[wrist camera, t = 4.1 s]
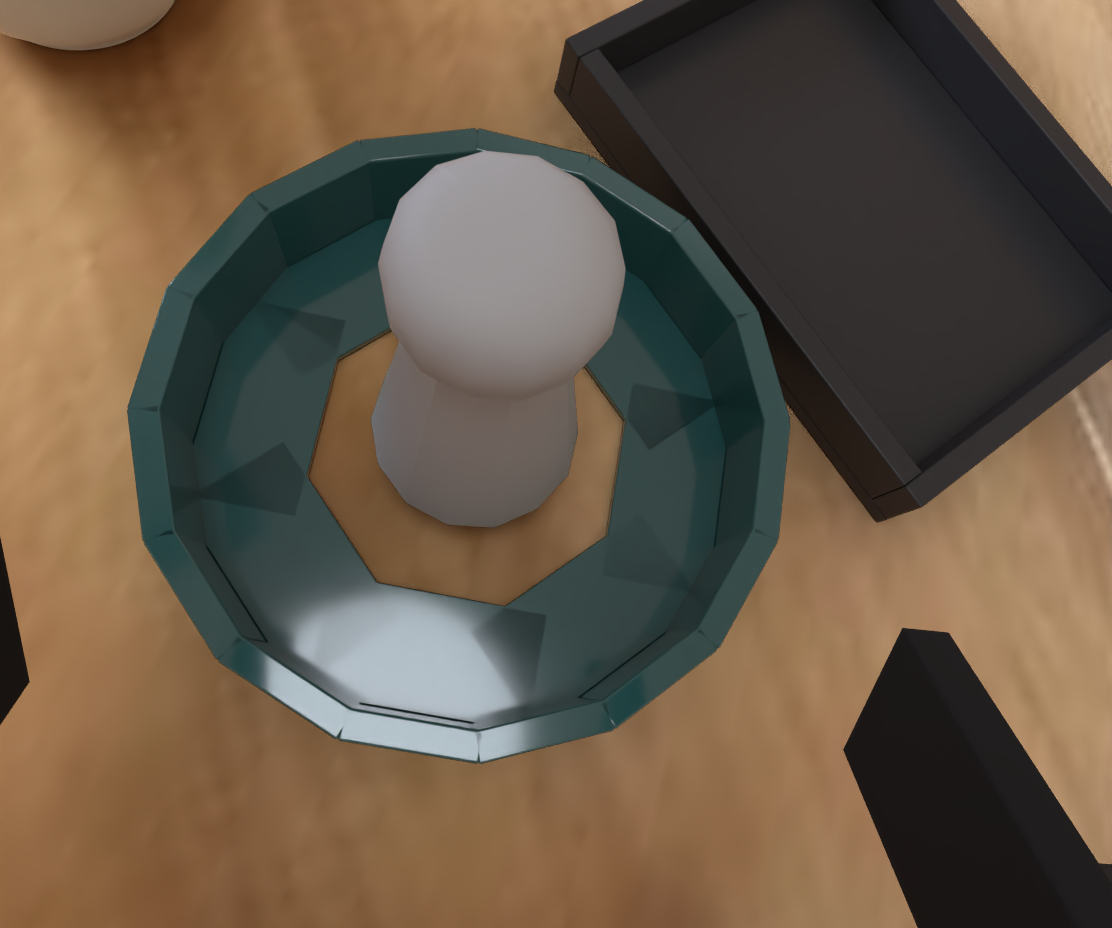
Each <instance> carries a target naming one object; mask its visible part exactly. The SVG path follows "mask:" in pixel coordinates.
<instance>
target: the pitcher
mask: <svg viewBox="0 0 1112 928" xmlns="http://www.w3.org/2000/svg"><path fill="white" fill-rule="evenodd" d="M174 1H175V0H0V33H1V34H4V35H7V36H9V37H13V38H17V39H21V40H26V41H30V42H32V43H35V44H38V45H42V46H46V47H50V48H56V49H63V50H92V49H100V48H105V47H110V46H113V45H117V44H120V43H123V42H126V41H128V40H130V39H133V38H135V37H137V36H138V35H140V34H142V33H144V32H145V31H147V30H148V29H150V28H151V27H152V26H154V25H155V24H156V23H157V22H158V21H159V20H160V19H161V18H162V17H164V16H165V14H166V13H167V12H168V10H169V9H170V8H171V7H172V5H173V3H174Z"/></svg>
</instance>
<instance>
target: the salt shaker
mask: <svg viewBox="0 0 1112 928" xmlns="http://www.w3.org/2000/svg"><path fill="white" fill-rule="evenodd" d="M378 267H379V272H380V278H381V283H382V289H383V294H384V300H385V306H386V311H387V316H388V321H389V325H390V329H391V331H392V332H393V334H394V335H395V336H396V338H397V339H398V340H399V344H398V346H397V349H396V352H395V354H394V357H393V360H392V362H391V365H390V367H389V369H388V371H387V374H386V376H385V378H384V381H383V384H382V387H381V390H380V393H379V396H378V399H377V402H376V405H375V408H374V411H373V414H372V417H371V423H372V429H373V436H374V442H375V448H376V454H377V460H378V464H379V466H380V467H381V469H382V470H383V471H384V473H385V474H386V476H387V477H388V478H389V480H390V481H391V483H392V484H393V485H394V487H395V488H396V490H397V491H398V492H399V494H400V495H401V497H402V498H403V499H404V501H405V502H406V503H407V504H409V505H411V506H413V507H415V508H416V509H418V510H420V511H422V512H424V513H426V514H428V515H430V516H432V517H433V518H435V519H437V520H439V521H441V522H443V523H445V524H447V525H459V526H475V527H491V528H494V527H497V526H499V525H502V524H504V523H506V522H508V521H511V520H513V519H515V518H517V517H520V516H522V515H524V514H527V513H529V512H531V511H533V510H536V509H538V508H539V507H540V506H541V504H542V503H543V502H544V501H545V500H546V499H547V498H548V497H549V496H550V495H551V493H552V492H553V491H554V490H555V489H556V488H557V487H558V486H559V485H560V484H561V482H562V481H563V480H564V479H565V478H566V477H567V476H568V473H569V469H570V465H571V460H572V456H573V452H574V447H575V443H576V439H577V434H578V428H577V414H576V401H575V388H574V376H575V375H576V374H577V373H578V372H579V371H580V370H581V369H582V368H583V367H584V366H585V365H586V364H587V363H588V362H589V360H590V359H591V358H592V357H593V356H594V355H595V354H596V353H597V352H598V351H599V350H600V349H601V348H602V347H603V345H604V344H605V343H606V341H607V340H608V339H609V337H610V336H611V335H612V332H613V328H614V324H615V319H616V315H617V311H618V307H619V303H620V299H621V294H622V290H623V286H624V278H625V269H626V268H625V264H624V259H623V255H622V250H621V246H620V241H619V237H618V232H617V228H616V223H615V220H614V219H613V218H612V217H611V215H610V214H609V213H608V212H607V211H606V209H605V208H604V207H603V206H602V204H601V203H600V202H599V201H598V199H597V198H596V197H595V196H594V194H593V193H592V192H591V191H590V190H589V188H588V187H587V186H586V185H585V183H584V182H583V181H581V180H579V179H578V178H576V177H574V176H572V175H570V174H569V173H567V172H565V171H563V170H561V169H560V168H558V167H556V166H554V165H553V164H551V163H549V162H547V161H545V160H544V159H542V158H540V157H538V156H532V155H522V154H512V153H502V152H492V151H483V152H480V153H476V154H473V155H469V156H466V157H462V158H459V159H456V160H452V161H449V162H445V163H442V164H438V165H436V166H435V167H433V168H432V169H431V170H430V171H429V172H428V173H427V174H426V175H425V176H424V177H423V178H422V179H421V180H420V181H419V182H418V183H416V184H415V185H414V186H413V187H412V188H411V189H410V190H409V191H408V192H407V193H406V194H405V195H404V196H403V197H402V198H401V199H400V200H399V202H398V205H397V208H396V211H395V213H394V216H393V219H392V222H391V224H390V227H389V230H388V233H387V235H386V238H385V241H384V244H383V247H382V250H381V254H380V258H379V262H378Z"/></svg>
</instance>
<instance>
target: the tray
mask: <svg viewBox="0 0 1112 928" xmlns="http://www.w3.org/2000/svg"><path fill="white" fill-rule="evenodd" d="M554 92H555V93H556V95H557V96H558V97H559V99H560V100H561V101H562V103H563V104H564V105H565V107H566V108H567V109H568V111H569V112H570V113H571V115H572V116H573V117H574V119H575V120H576V121H577V123H578V124H579V125H580V127H581V128H582V129H583V131H584V132H585V133H586V135H587V136H588V137H589V139H590V140H591V141H592V143H593V144H594V145H595V147H596V148H597V149H598V151H599V152H600V153H601V155H602V156H603V157H604V159H605V160H606V161H607V163H608V164H609V165H610V167H611V168H612V169H613V170H614V171H616V172H617V173H619V174H620V175H622V176H623V177H625V178H626V179H628V180H629V181H631V182H632V183H634V184H636V185H637V186H639V187H640V188H642V189H643V190H645V191H646V192H648V193H649V194H651V195H652V196H654V197H656V198H657V199H659V200H660V201H662V202H663V203H665V204H666V205H668V206H669V207H671V208H672V209H674V210H676V211H677V212H679V213H680V214H682V215H683V216H685V217H686V218H687V219H689V220H690V221H691V222H692V224H693V225H694V226H695V228H696V229H697V230H698V232H699V233H700V234H701V236H702V237H703V238H704V240H705V241H706V242H707V244H708V245H709V246H710V247H711V249H712V250H713V251H714V253H715V254H716V255H717V257H718V258H719V259H720V261H721V262H722V263H723V265H724V266H725V267H726V269H727V270H728V271H729V273H730V274H731V275H732V277H733V278H734V279H735V281H736V282H737V283H738V284H739V286H740V287H741V288H742V290H743V291H744V292H745V294H746V295H747V296H748V298H749V299H750V300H751V302H752V303H753V304H754V306H755V307H756V308H757V311H758V312H759V315H760V318H761V322H762V325H763V329H764V332H765V335H766V339H767V342H768V346H769V349H770V353H771V356H772V359H773V363H774V366H775V370H776V373H777V377H778V380H779V383H780V387H781V390H782V394H783V397H784V399H785V400H786V402H787V403H788V404H789V406H790V407H791V408H792V410H793V411H794V412H795V414H796V415H797V416H798V418H799V419H800V420H801V422H802V423H803V424H804V426H805V427H806V428H807V430H808V431H809V432H810V434H811V435H812V436H813V438H814V439H815V440H816V442H817V443H818V444H819V446H820V447H821V448H822V450H823V451H824V452H825V454H826V455H827V456H828V458H829V459H830V460H831V462H832V463H833V464H834V466H835V467H836V468H837V470H838V471H839V472H840V474H841V475H842V476H843V478H844V479H845V480H846V482H847V483H848V484H849V486H850V487H851V488H852V490H853V491H854V492H855V494H856V495H857V496H858V498H859V499H860V500H861V502H862V503H863V504H864V506H865V507H866V508H867V510H868V511H869V512H870V514H871V515H872V516H873V518H874V519H875V520H876V522H881V521H884V520H887V519H889V518H892V517H895V516H898V515H901V514H904V513H907V512H910V511H913V510H915V509H918V508H921V507H923V506H924V505H925V504H927V503H928V502H929V501H931V500H932V499H933V498H934V497H936V496H937V495H938V494H940V493H941V492H942V491H943V490H945V489H946V488H947V487H949V486H950V485H951V484H952V483H954V482H955V481H956V480H958V479H959V478H960V477H961V476H963V475H964V474H965V473H966V472H968V471H969V470H970V469H972V468H973V467H974V466H975V465H977V464H978V463H979V462H981V461H982V460H983V459H984V458H986V457H987V456H988V455H990V454H991V453H992V452H993V451H995V450H996V449H997V448H999V447H1000V446H1001V445H1002V444H1004V443H1005V442H1006V441H1008V440H1009V439H1010V438H1011V437H1013V436H1014V435H1015V434H1016V433H1018V432H1019V431H1020V430H1022V429H1023V428H1024V427H1025V426H1027V425H1028V424H1029V423H1031V422H1032V421H1033V420H1034V419H1036V418H1037V417H1038V416H1040V415H1041V414H1042V413H1043V412H1045V411H1046V410H1047V409H1049V408H1050V407H1051V406H1052V405H1054V404H1055V403H1056V402H1058V401H1059V400H1060V399H1061V398H1063V397H1064V396H1065V395H1067V394H1068V393H1069V392H1070V391H1072V390H1073V389H1074V388H1075V387H1077V386H1078V385H1079V384H1081V383H1082V382H1083V381H1084V380H1086V379H1087V378H1088V377H1090V376H1091V375H1092V374H1093V373H1095V372H1096V371H1097V370H1099V369H1100V368H1101V367H1102V366H1104V365H1105V364H1106V363H1108V362H1109V361H1110V360H1111V359H1112V186H1111V185H1110V184H1109V182H1108V181H1107V180H1106V179H1105V178H1104V176H1103V175H1102V174H1101V173H1100V172H1099V170H1098V169H1097V168H1096V167H1095V166H1094V164H1093V163H1092V162H1091V161H1090V160H1089V158H1088V157H1087V156H1086V155H1085V154H1084V152H1083V151H1082V150H1081V149H1080V148H1079V147H1078V145H1077V144H1076V143H1075V142H1074V141H1073V139H1072V138H1071V137H1070V136H1069V135H1068V133H1067V132H1066V131H1065V130H1064V129H1063V127H1062V126H1061V125H1060V124H1059V123H1058V121H1057V120H1056V119H1055V118H1054V117H1053V115H1052V114H1051V113H1050V112H1049V111H1048V110H1047V108H1046V107H1045V106H1044V105H1043V104H1042V102H1041V101H1040V100H1039V99H1038V98H1037V96H1036V95H1035V94H1034V93H1033V92H1032V90H1031V89H1030V88H1029V87H1028V86H1027V84H1026V83H1025V82H1024V81H1023V80H1022V78H1021V77H1020V76H1019V75H1018V74H1017V72H1016V71H1015V70H1014V69H1013V68H1012V67H1011V65H1010V64H1009V63H1008V62H1007V61H1006V59H1005V58H1004V57H1003V56H1002V55H1001V53H1000V52H999V51H998V50H997V49H996V47H995V46H994V45H993V44H992V43H991V41H990V40H989V39H988V38H987V37H986V35H985V34H984V33H983V32H982V31H981V30H980V28H979V27H978V26H977V25H976V24H975V22H974V21H973V20H972V19H971V18H970V16H969V15H968V14H967V13H966V12H965V10H964V9H963V8H962V7H961V6H960V4H959V3H958V2H957V1H956V0H643V1H641V2H639V3H637V4H635V5H633V6H631V7H629V8H627V9H625V10H623V11H621V12H619V13H617V14H615V15H613V16H611V17H609V18H607V19H605V20H603V21H601V22H599V23H597V24H595V25H593V26H591V27H589V28H587V29H585V30H583V31H581V32H579V33H577V34H575V35H573V36H571V37H569V38H567V39H566V41H565V45H564V50H563V54H562V59H561V64H560V68H559V73H558V78H557V81H556V85H555V89H554Z"/></svg>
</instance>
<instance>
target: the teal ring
mask: <svg viewBox="0 0 1112 928" xmlns="http://www.w3.org/2000/svg"><path fill="white" fill-rule="evenodd" d="M483 151H492V152H502V153H512V154H522V155H532V156H538V157H540V158H542V159H544V160H545V161H547V162H549V163H551V164H553V165H554V166H556V167H558V168H560V169H561V170H563V171H565V172H567V173H569V174H570V175H572V176H574V177H576V178H578V179H579V180H581V181H583V182H584V183H585V185H586V186H587V187H588V188H589V190H590V191H591V192H592V193H593V194H594V196H595V197H596V198H597V199H598V201H599V202H600V203H601V204H602V206H603V207H604V208H605V209H606V211H607V212H608V213H609V214H610V215H611V217H612V218H613V219H614V220H615V223H616V228H617V232H618V237H619V241H620V246H621V250H622V255H623V259H624V264H625V268H626V269H625V278H624V286H623V290H622V294H621V299H620V303H619V307H618V311H617V315H616V319H615V324H614V328H613V332H612V335H611V336H610V337H609V339H608V340H607V341H606V343H605V344H604V345H603V347H602V348H601V349H600V350H599V351H598V352H597V353H596V354H595V355H594V356H593V357H592V358H591V359H590V360H589V362H588V363H587V364H586V365H585V366H584V367H585V368H586V369H587V371H588V372H589V374H590V375H591V376H592V378H593V379H594V381H595V382H596V383H597V385H598V386H599V388H600V389H601V390H602V392H603V393H604V395H605V396H606V397H607V399H608V400H609V401H610V403H611V404H612V406H613V407H614V408H615V410H616V411H617V413H618V414H619V415H620V417H621V418H622V420H623V421H624V423H623V430H622V436H621V443H620V449H619V455H618V462H617V468H616V474H615V481H614V487H613V494H612V500H611V506H610V513H609V519H608V526H607V532H606V536H605V537H604V538H603V539H601V540H600V541H598V542H597V543H595V544H594V545H593V546H591V547H590V548H588V549H587V550H585V551H584V552H582V553H581V554H580V555H578V556H577V557H575V558H574V559H572V560H571V561H570V562H568V563H567V564H565V565H564V566H562V567H561V568H559V569H558V570H557V571H555V572H554V573H552V574H551V575H549V576H548V577H547V578H545V579H544V580H542V581H541V582H539V583H538V584H537V585H535V586H534V587H532V588H531V589H529V590H528V591H526V592H525V593H524V594H522V595H521V596H519V597H518V598H516V599H515V600H514V601H512V602H511V603H509V604H508V605H506V606H501V605H496V604H490V603H485V602H480V601H474V600H469V599H464V598H458V597H453V596H448V595H442V594H437V593H431V592H426V591H421V590H415V589H410V588H405V587H399V586H394V585H389V584H383V583H378V582H376V580H375V578H374V577H373V575H372V574H371V572H370V571H369V569H368V568H367V566H366V565H365V563H364V562H363V560H362V559H361V557H360V556H359V554H358V553H357V551H356V550H355V548H354V547H353V545H352V543H351V542H350V540H349V539H348V537H347V536H346V534H345V533H344V531H343V530H342V528H341V527H340V525H339V524H338V522H337V521H336V519H335V518H334V516H333V515H332V513H331V512H330V510H329V509H328V507H327V505H326V504H325V502H324V501H323V499H322V498H321V496H320V495H319V493H318V492H317V490H316V489H315V487H314V486H313V484H312V483H311V481H310V480H309V478H308V476H309V472H310V468H311V464H312V460H313V456H314V452H315V449H316V445H317V441H318V437H319V433H320V429H321V425H322V421H323V418H324V414H325V410H326V406H327V402H328V398H329V394H330V390H331V387H332V383H333V379H334V375H335V371H336V367H337V363H338V361H339V360H341V359H342V358H344V357H346V356H348V355H349V354H351V353H353V352H355V351H356V350H358V349H360V348H362V347H363V346H365V345H367V344H369V343H370V342H372V341H374V340H376V339H377V338H379V337H381V336H383V335H384V334H386V333H388V332H390V331H391V329H390V325H389V321H388V316H387V311H386V306H385V300H384V294H383V289H382V283H381V278H380V272H379V267H378V262H379V258H380V254H381V250H382V247H383V244H384V241H385V238H386V235H387V233H388V230H389V227H390V224H391V222H392V219H393V216H394V213H395V211H396V208H397V205H398V202H399V200H400V199H401V198H402V197H403V196H404V195H405V194H406V193H407V192H408V191H409V190H410V189H411V188H412V187H413V186H414V185H415V184H416V183H418V182H419V181H420V180H421V179H422V178H423V177H424V176H425V175H426V174H427V173H428V172H429V171H430V170H431V169H432V168H433V167H435V166H436V165H438V164H442V163H445V162H449V161H452V160H456V159H459V158H462V157H466V156H469V155H473V154H476V153H480V152H483ZM127 414H128V423H129V431H130V440H131V448H132V456H133V465H134V473H135V481H136V490H137V498H138V507H139V515H140V523H141V532H142V540H143V541H144V545H145V546H146V548H147V550H148V551H149V553H150V554H151V556H152V558H153V559H154V561H155V562H156V564H157V566H158V567H159V569H160V570H161V572H162V574H163V575H164V577H165V578H166V580H167V582H168V583H169V585H170V586H171V588H172V590H173V591H174V593H175V594H176V596H177V598H178V599H179V601H180V603H181V604H182V606H183V607H184V609H185V611H186V612H187V614H188V615H189V617H190V619H191V620H192V622H193V623H194V625H195V627H196V628H197V630H198V631H199V633H200V635H201V636H202V638H203V639H204V641H205V643H206V644H207V646H208V648H209V649H210V651H211V652H212V654H213V656H214V657H215V659H217V660H218V661H219V663H221V664H222V665H224V666H225V667H227V668H228V669H230V670H231V671H233V672H234V673H236V674H237V675H239V676H240V677H242V678H243V679H245V680H246V681H248V682H249V683H251V684H252V685H254V686H255V687H257V688H258V689H260V690H261V691H263V692H264V693H266V694H267V695H269V696H271V697H272V698H274V699H275V700H277V701H278V702H280V703H281V704H283V705H284V706H286V707H287V708H289V709H290V710H292V711H293V712H295V713H296V714H298V715H299V716H301V717H302V718H304V719H305V720H307V721H308V722H310V723H311V724H313V725H314V726H316V727H317V728H319V729H320V730H322V731H323V732H325V733H326V734H328V735H329V736H331V737H332V738H334V739H338V740H339V741H343V742H349V743H355V744H361V745H367V746H373V747H379V748H385V749H391V750H397V751H403V752H409V753H415V754H421V755H427V756H433V757H439V758H445V759H450V760H456V761H462V762H468V763H474V764H477V763H480V764H483V763H487V762H491V761H495V760H498V759H502V758H506V757H510V756H514V755H518V754H522V753H526V752H530V751H534V750H538V749H542V748H546V747H550V746H554V745H558V744H562V743H566V742H570V741H574V740H578V739H582V738H586V737H590V736H594V735H598V734H602V733H606V732H610V731H613V730H614V729H616V728H618V727H619V726H620V725H622V724H623V723H624V722H625V721H627V720H628V719H629V718H631V717H632V716H633V715H634V714H636V713H637V712H638V711H640V710H641V709H642V708H644V707H645V706H646V705H647V704H649V703H650V702H651V701H653V700H654V699H655V698H656V697H658V696H659V695H660V694H662V693H663V692H664V691H666V690H667V689H668V688H669V687H671V686H672V685H673V684H675V683H676V682H677V681H678V680H680V679H681V678H682V677H684V676H685V675H686V674H688V673H689V672H690V671H691V670H693V669H694V668H695V667H697V666H698V665H699V664H700V663H702V662H703V661H704V660H706V659H707V658H708V657H709V656H711V655H712V654H713V653H715V652H716V650H717V649H718V648H720V646H721V644H722V642H723V641H724V639H725V637H726V635H727V633H728V632H729V630H730V628H731V626H732V624H733V622H734V621H735V619H736V617H737V615H738V613H739V612H740V610H741V608H742V606H743V604H744V602H745V601H746V599H747V597H748V595H749V593H750V591H751V590H752V588H753V586H754V584H755V582H756V581H757V579H758V577H759V575H760V573H761V571H762V570H763V568H764V566H765V564H766V562H767V561H768V559H769V557H770V555H771V553H772V551H773V550H774V548H775V546H776V544H777V542H778V538H779V530H780V521H781V511H782V501H783V491H784V481H785V471H786V461H787V451H788V441H789V431H790V418H789V414H788V411H787V407H786V404H785V400H784V397H783V394H782V390H781V387H780V383H779V380H778V377H777V373H776V370H775V366H774V363H773V359H772V356H771V353H770V349H769V346H768V342H767V339H766V335H765V332H764V329H763V325H762V322H761V318H760V315H759V312H758V311H757V308H756V307H755V306H754V304H753V303H752V302H751V300H750V299H749V298H748V296H747V295H746V294H745V292H744V291H743V290H742V288H741V287H740V286H739V284H738V283H737V282H736V281H735V279H734V278H733V277H732V275H731V274H730V273H729V271H728V270H727V269H726V267H725V266H724V265H723V263H722V262H721V261H720V259H719V258H718V257H717V255H716V254H715V253H714V251H713V250H712V249H711V247H710V246H709V245H708V244H707V242H706V241H705V240H704V238H703V237H702V236H701V234H700V233H699V232H698V230H697V229H696V228H695V226H694V225H693V224H692V222H691V221H690V220H689V219H687V218H686V217H685V216H683V215H682V214H680V213H679V212H677V211H676V210H674V209H672V208H671V207H669V206H668V205H666V204H665V203H663V202H662V201H660V200H659V199H657V198H656V197H654V196H652V195H651V194H649V193H648V192H646V191H645V190H643V189H642V188H640V187H639V186H637V185H636V184H634V183H632V182H631V181H629V180H628V179H626V178H625V177H623V176H622V175H620V174H619V173H617V172H616V171H614V170H612V169H611V168H609V167H608V166H606V165H605V164H603V163H602V162H600V161H599V160H597V159H596V158H594V157H591V158H590V156H589V155H587V154H583V153H579V152H575V151H571V150H566V149H562V148H558V147H554V146H550V145H546V144H542V143H538V142H533V141H529V140H525V139H521V138H517V137H513V136H509V135H505V134H501V133H496V132H492V131H488V130H484V129H478V130H477V129H476V128H471V129H461V130H451V131H442V132H432V133H423V134H413V135H403V136H394V137H384V138H374V139H365V140H360V142H359V141H358V140H357V141H355V142H353V143H351V144H348V145H346V146H344V147H342V148H340V149H338V150H336V151H334V152H332V153H330V154H328V155H326V156H324V157H322V158H320V159H318V160H316V161H314V162H312V163H310V164H308V165H306V166H304V167H302V168H300V169H298V170H296V171H294V172H292V173H290V174H288V175H286V176H284V177H282V178H280V179H278V180H276V181H274V182H272V183H270V184H268V185H266V186H264V187H262V188H260V189H258V190H256V191H254V192H252V193H251V194H250V195H248V196H247V197H246V198H245V199H244V200H243V202H242V203H241V204H240V205H239V206H238V207H237V208H236V209H235V211H234V212H233V213H232V214H231V215H230V216H229V217H228V218H227V220H226V221H225V222H224V223H223V224H222V225H221V226H220V227H219V229H218V230H217V231H216V232H215V233H214V234H213V235H212V236H211V238H210V239H209V240H208V241H207V242H206V243H205V244H204V245H203V247H202V248H201V249H200V250H199V251H198V252H197V253H196V254H195V256H194V257H193V258H192V259H191V260H190V261H189V262H188V263H187V265H186V266H185V267H184V268H183V269H182V270H181V271H180V272H179V274H178V275H177V276H176V277H175V278H174V279H173V280H172V281H171V283H170V284H169V285H168V287H167V288H166V290H165V293H164V296H163V300H162V303H161V306H160V309H159V312H158V315H157V318H156V321H155V324H154V327H153V330H152V333H151V336H150V340H149V343H148V346H147V349H146V352H145V355H144V358H143V361H142V364H141V367H140V370H139V373H138V376H137V380H136V383H135V386H134V389H133V392H132V395H131V398H130V401H129V404H128V410H127Z"/></svg>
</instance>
